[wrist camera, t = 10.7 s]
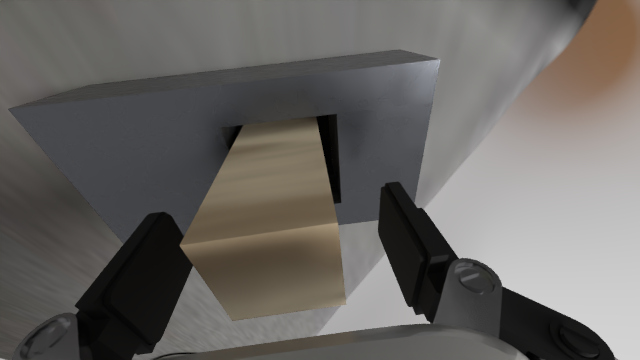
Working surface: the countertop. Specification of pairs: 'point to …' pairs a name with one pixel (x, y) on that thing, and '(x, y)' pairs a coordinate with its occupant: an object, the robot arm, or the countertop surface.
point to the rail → (235, 131)
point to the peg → (270, 225)
